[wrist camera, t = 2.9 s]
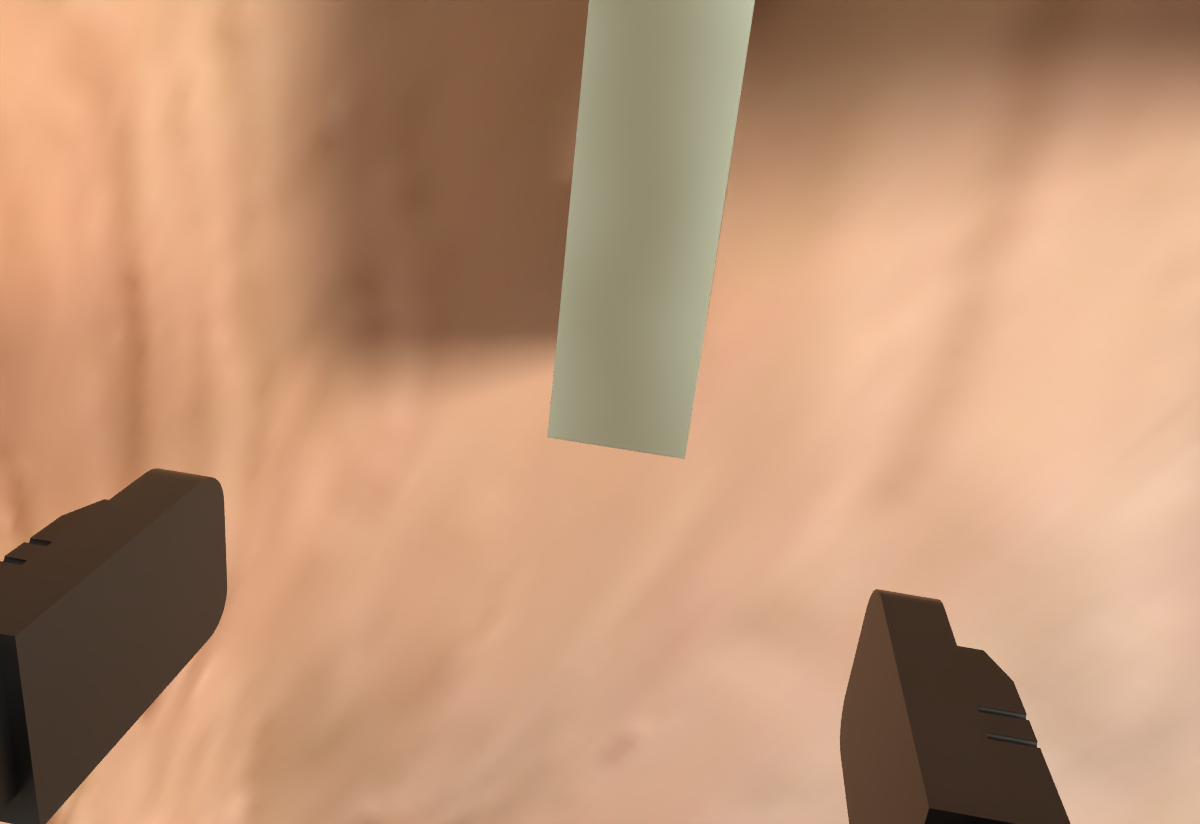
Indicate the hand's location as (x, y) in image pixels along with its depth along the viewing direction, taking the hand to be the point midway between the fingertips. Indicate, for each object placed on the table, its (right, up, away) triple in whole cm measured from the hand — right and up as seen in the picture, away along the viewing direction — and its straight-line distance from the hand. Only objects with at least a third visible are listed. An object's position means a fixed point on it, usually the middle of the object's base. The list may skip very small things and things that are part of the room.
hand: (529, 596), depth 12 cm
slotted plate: (+3, +12, +16) cm, 20 cm away
